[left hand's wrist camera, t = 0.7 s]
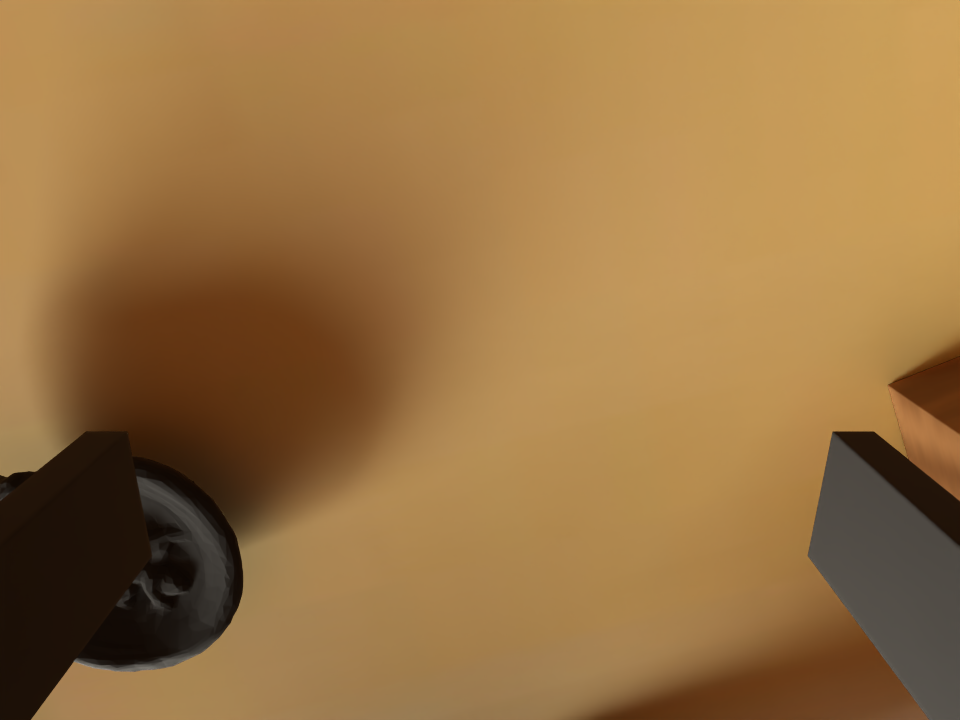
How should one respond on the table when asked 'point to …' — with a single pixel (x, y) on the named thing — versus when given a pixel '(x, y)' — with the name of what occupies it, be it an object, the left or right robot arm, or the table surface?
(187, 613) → the oil lamp
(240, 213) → the table surface
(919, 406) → the bar
